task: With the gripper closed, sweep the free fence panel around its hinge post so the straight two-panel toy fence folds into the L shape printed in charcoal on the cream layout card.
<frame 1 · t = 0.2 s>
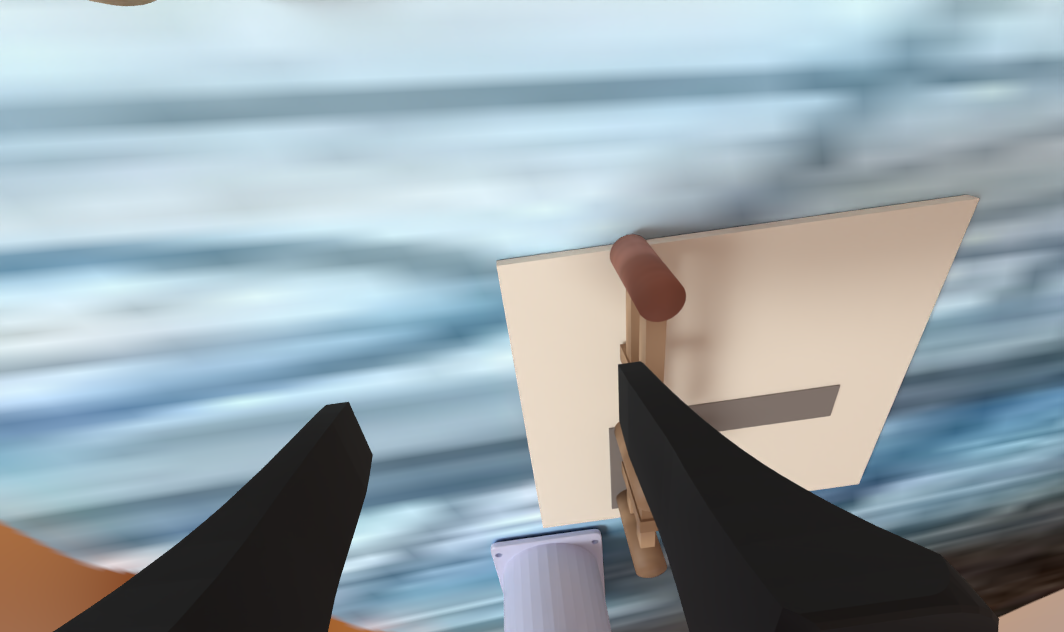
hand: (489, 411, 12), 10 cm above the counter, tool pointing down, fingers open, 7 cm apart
layout card: (711, 390, 25), on the counter
folding fence panel: (642, 363, 20), point 3 cm above the counter, hinge at 0.0°
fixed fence: (628, 428, 26), resting on layout card
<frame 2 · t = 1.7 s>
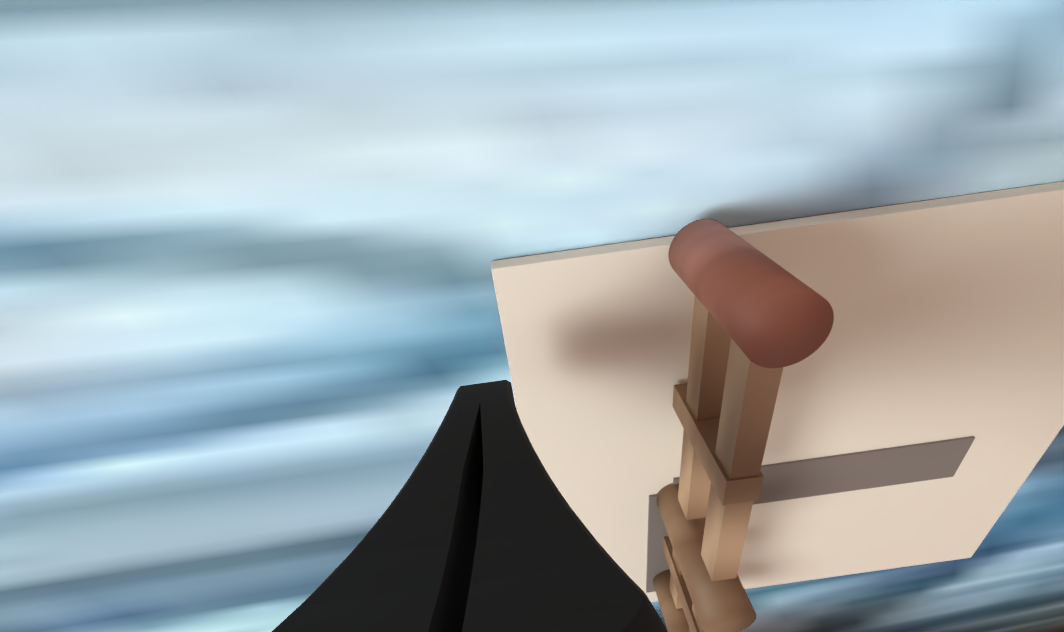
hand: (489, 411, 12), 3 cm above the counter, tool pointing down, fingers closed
layout card: (791, 443, 18), on the counter
folding fence panel: (717, 419, 13), point 3 cm above the counter, hinge at 0.0°
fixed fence: (676, 495, 18), resting on layout card
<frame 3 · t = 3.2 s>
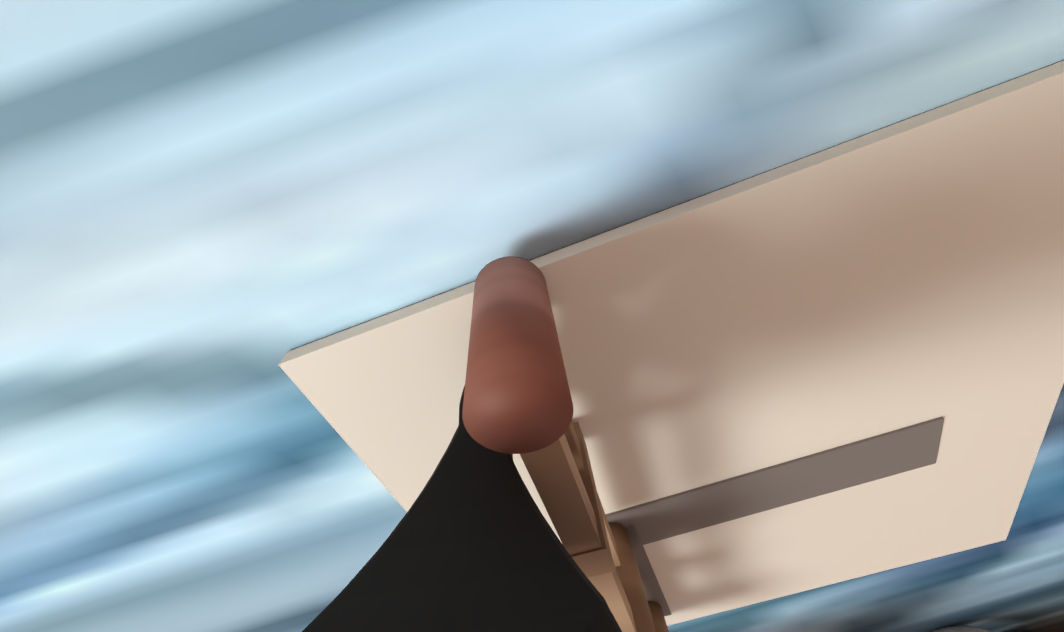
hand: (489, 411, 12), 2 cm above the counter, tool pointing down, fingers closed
layout card: (721, 459, 16), on the counter
folding fence panel: (569, 477, 11), point 3 cm above the counter, hinge at -3.3°, touching gripper
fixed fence: (604, 534, 17), resting on layout card
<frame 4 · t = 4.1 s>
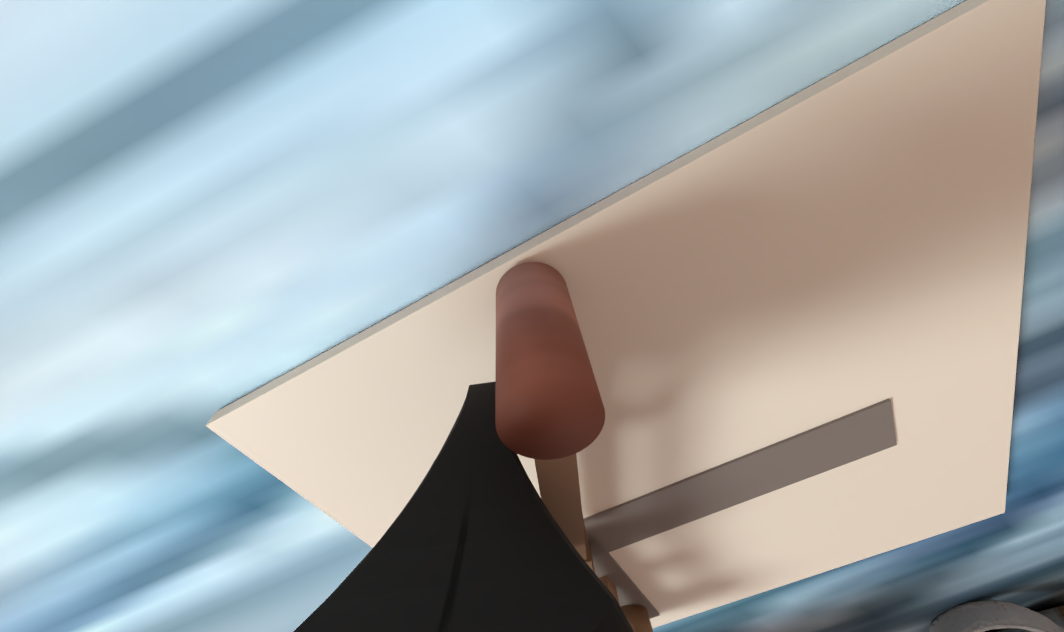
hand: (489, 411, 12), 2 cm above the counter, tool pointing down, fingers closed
layout card: (669, 463, 16), on the counter
folding fence panel: (558, 486, 11), point 3 cm above the counter, hinge at -21.8°, touching gripper
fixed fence: (566, 546, 17), resting on layout card
ceramic mug: (986, 624, 26), on the counter
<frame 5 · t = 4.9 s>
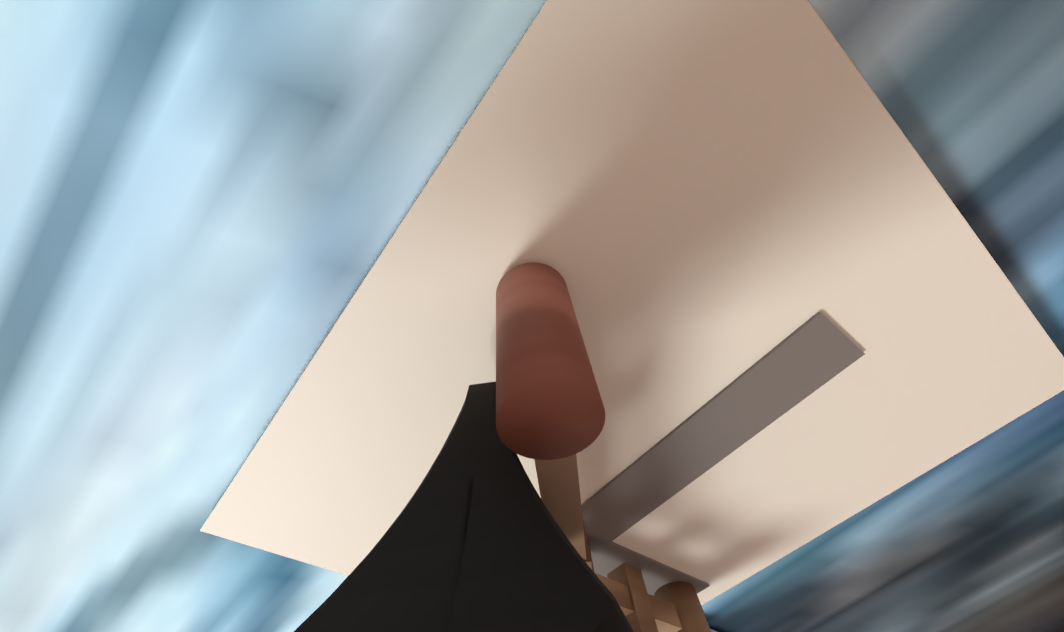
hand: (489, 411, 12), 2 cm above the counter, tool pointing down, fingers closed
layout card: (624, 443, 15), on the counter
folding fence panel: (558, 487, 11), point 3 cm above the counter, hinge at -44.9°, touching gripper
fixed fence: (566, 546, 17), resting on layout card
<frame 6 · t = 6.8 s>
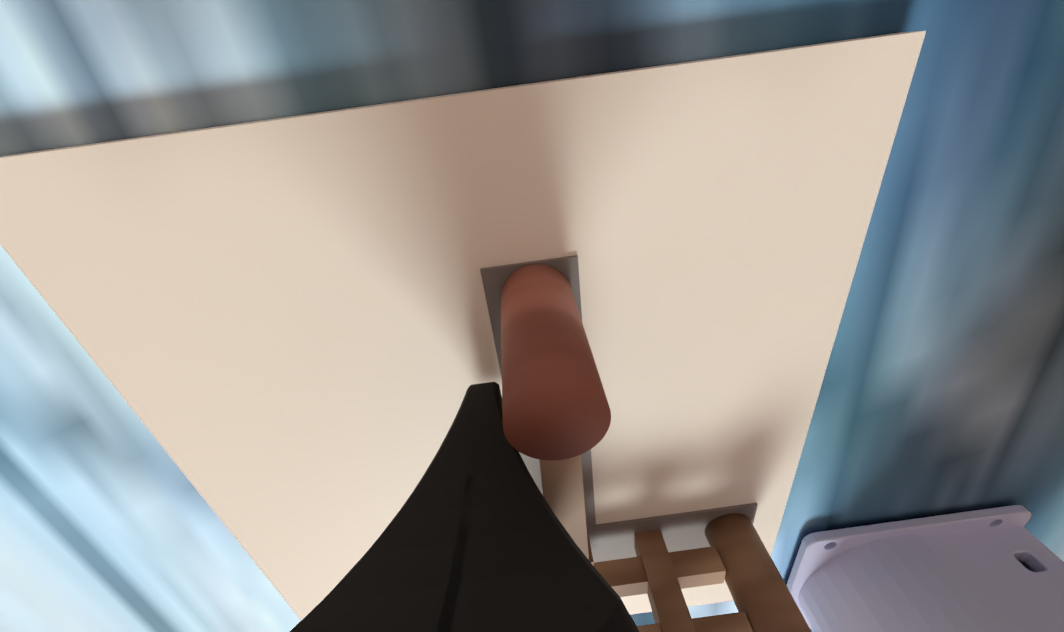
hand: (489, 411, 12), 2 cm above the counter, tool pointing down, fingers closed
layout card: (509, 452, 15), on the counter
folding fence panel: (561, 487, 11), point 3 cm above the counter, hinge at -90.4°, touching gripper
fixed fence: (566, 547, 17), resting on layout card
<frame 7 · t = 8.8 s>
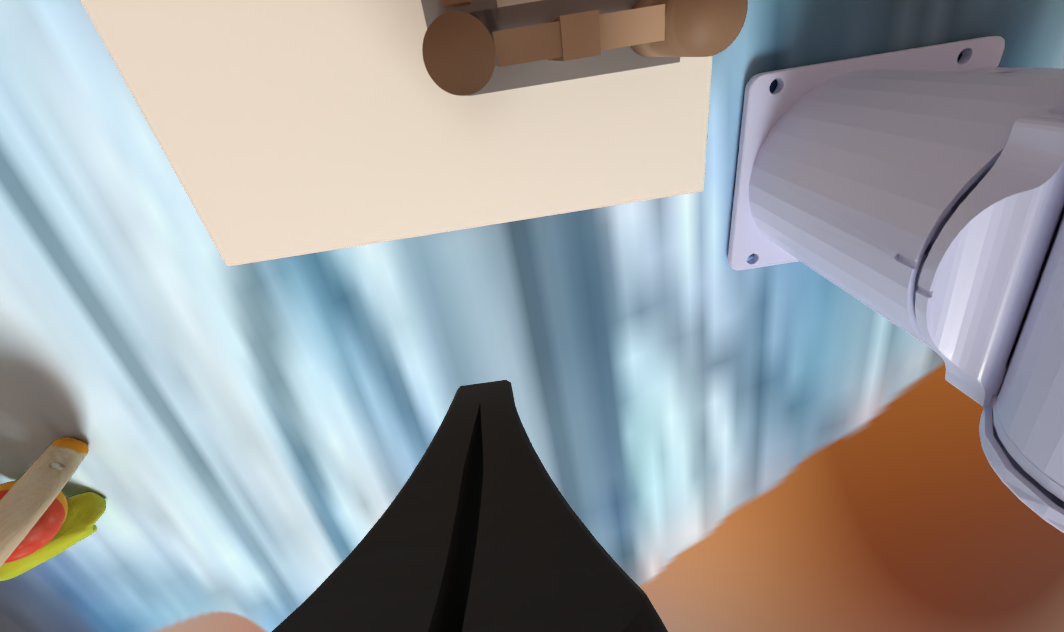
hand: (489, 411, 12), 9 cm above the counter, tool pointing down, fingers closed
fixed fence: (469, 55, 15), resting on layout card
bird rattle: (68, 464, 24), on the counter
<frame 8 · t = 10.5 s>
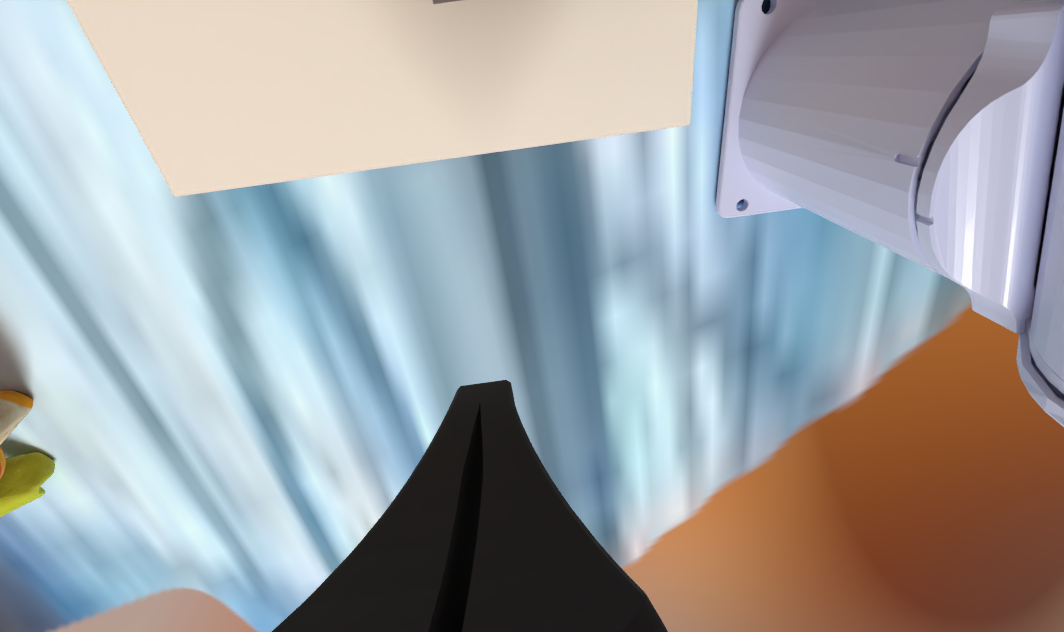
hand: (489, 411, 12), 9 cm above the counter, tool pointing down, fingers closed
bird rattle: (12, 421, 23), on the counter
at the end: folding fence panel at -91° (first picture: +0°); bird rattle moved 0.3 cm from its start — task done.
